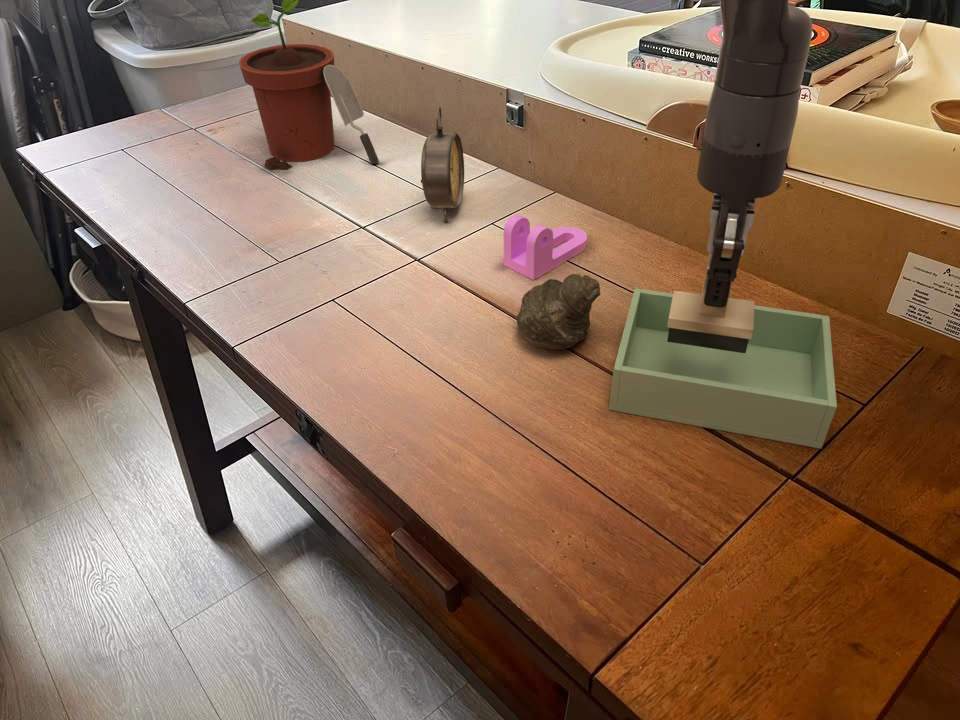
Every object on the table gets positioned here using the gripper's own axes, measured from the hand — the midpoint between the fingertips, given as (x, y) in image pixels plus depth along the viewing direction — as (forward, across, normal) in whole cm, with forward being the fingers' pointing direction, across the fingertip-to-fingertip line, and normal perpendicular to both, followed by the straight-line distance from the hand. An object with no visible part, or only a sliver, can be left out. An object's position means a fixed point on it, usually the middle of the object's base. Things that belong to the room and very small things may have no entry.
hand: (715, 295), depth 78 cm
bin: (+11, 0, -2) cm, 12 cm away
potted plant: (+11, +45, +71) cm, 85 cm away
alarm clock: (+11, +31, +41) cm, 53 cm away
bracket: (+11, +22, +22) cm, 33 cm away
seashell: (+11, +5, +19) cm, 23 cm away
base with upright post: (+5, 0, 0) cm, 5 cm away
